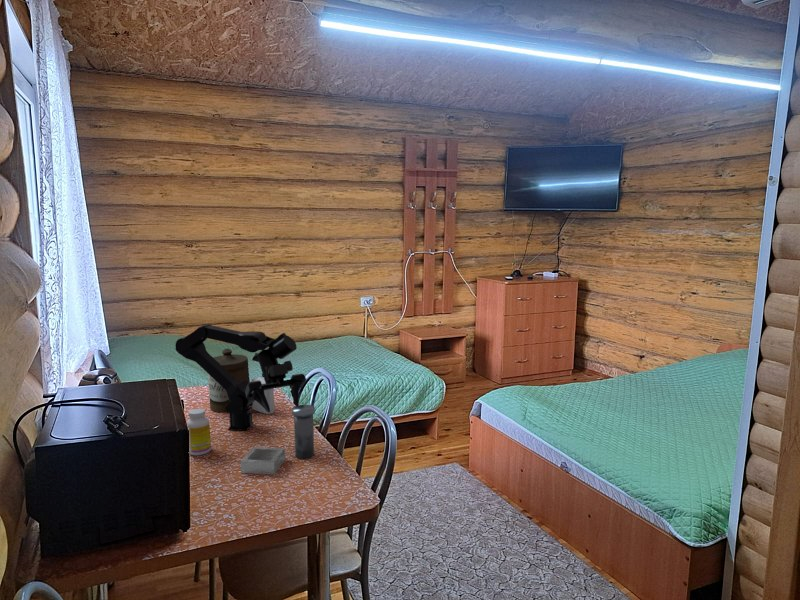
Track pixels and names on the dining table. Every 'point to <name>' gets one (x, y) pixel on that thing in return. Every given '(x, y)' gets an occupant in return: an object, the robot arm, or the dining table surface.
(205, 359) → the robot arm
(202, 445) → the supplement bottle
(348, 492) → the dining table surface
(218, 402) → the wooden container
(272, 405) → the white rounded block
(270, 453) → the gray square frame
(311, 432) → the dark grey metal cylinder
